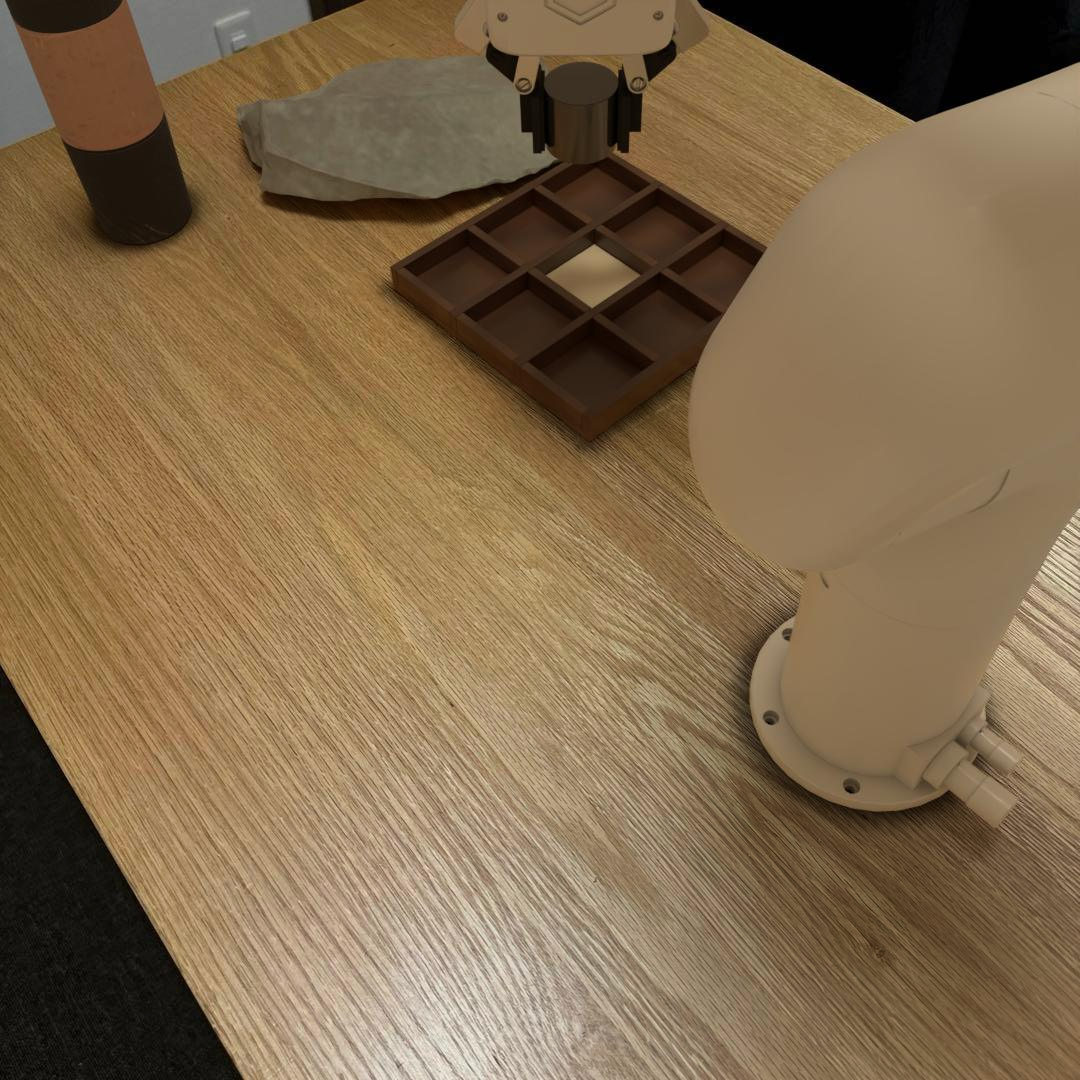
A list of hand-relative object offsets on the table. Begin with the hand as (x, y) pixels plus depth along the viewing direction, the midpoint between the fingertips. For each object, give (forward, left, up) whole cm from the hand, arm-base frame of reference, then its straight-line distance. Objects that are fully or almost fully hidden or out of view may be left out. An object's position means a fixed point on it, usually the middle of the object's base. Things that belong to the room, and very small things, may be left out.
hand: (581, 136), depth 72 cm
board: (+2, -3, -16) cm, 16 cm away
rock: (+25, -4, -16) cm, 30 cm away
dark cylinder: (0, 0, 0) cm, 0 cm away
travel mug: (+33, +16, -16) cm, 40 cm away
